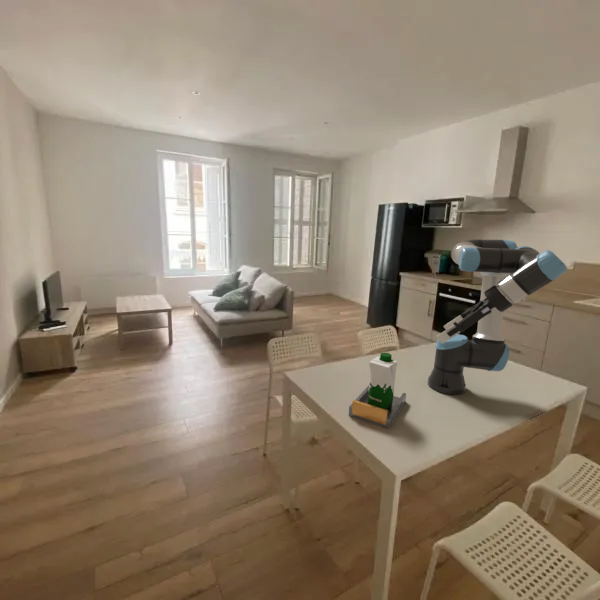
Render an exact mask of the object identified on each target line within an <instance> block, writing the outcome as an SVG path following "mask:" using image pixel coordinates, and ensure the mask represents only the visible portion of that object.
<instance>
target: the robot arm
mask: <svg viewBox="0 0 600 600" xmlns="http://www.w3.org/2000/svg"><path fill="white" fill-rule="evenodd" d="M450 257H451V260H452V261H453V262H454V263H455V264H456V265H458V269H459V270H460V271H463V272H470V273H473V272H474V273H479V274H480V275H481V277H482V278H481V290H480V299H479V302H477V303H476V304H475V305H473V306H471V307H469V308H468V309H466V310H464V311H463V312H462V313H461V314H460V315H458V316H456V317H455V318H454V319H452V320H450V321H449V322H447V323H446V324H444V325H442V326H443V328H444V329H445V330H444V331H442V332H441V333H439V334H437V335H436V338H437V340H436V345H435V355H434V362H433V363H434V364H433V369H432V370H431V372H430V374H429V376H428V379H427V385H428V387H429V388H431V389H432V390H434V391H437V392H439V393H440V394H441V393H442V394H445V395H453V396H455V395H462V394H464V393H465V392H466V389H467V388H466V387H467V386H466V382H465V381H466V380H465V377H464V368H469V369H476V370H483V371H488V372H501V371H503V370H504V369H505V367H506V366H507V364H508V361H509V356H510V347H509V345H508V344H507V343H505V339H504V337H503V336H502V327H503V318H504V317H503V316H504V312H505V311H506V310H508V309H509V308H511V307H513V305H514V304H517V303H519V302H521V301H524V302H525V301H526V300H527V298H526V297H528V296H530V295H532V294H533V293H535V292H537V291H538V290H541V289H543V287H545V286H547V285H548V284H550V283H551V282H554V281H556V280H557V279H558V278H559V277H560V276H562V275H564V274H565V273H566V272H567V270H568V267H567V265H566V264H565V263H564V262H563V261H562V260H561V259H560V257H558V256H557V255H556V253H554V252H553V251H551V250H549V249H548V250H544V251H543V252H541V253H539V251H538V250H536V249H535V248H533V247H531V246H526V245H524V246H522V245H521V246H518V245H517V243H516V242H515V241H514V240H506V239H474V238H473V239H467V240H462V241H460V242H458V243H456V244H455V245H454V246H453V247H452V249H451V251H450ZM476 323H477V329H476V332H475V334H473V335H472V338H471V340H470V339H469V338H468V336H466V335H464V334H460V333H465V331H467V330H468V329H469V328H470V327H472V326H474V325H475V324H476Z"/></svg>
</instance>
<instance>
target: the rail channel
mask: <svg viewBox="0 0 600 600" xmlns="http://www.w3.org/2000/svg"><path fill="white" fill-rule="evenodd" d="M368 391H369V385H367V387H366V388H365V389H364V390H363V391H362V392H361V393H360V394H359V395H358V396H357V398H355V399H353V400H352V403H350V405H349V406H348V416H349V417H353V418H355V419H358V420H362V421H363V422H364V421H365V422H367V423H370V424H373V425H376V426H380V427H382V428H385V429H388V430H390V428H391V427H392V425H393V423H394V422H395V420H396V418H397V417H398V415H399V413H400V412H401V410H402V408H403V407H404V405H405V403H406V400H407V393H406V392H403V393H401V395H400V397H399V396H397V395H393V402H392V406H391V407H389V408H388V409H387V410H385V409H382V408H379V407H376V406H372V405H369V404H367V402H368Z"/></svg>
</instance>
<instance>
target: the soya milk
mask: <svg viewBox="0 0 600 600" xmlns="http://www.w3.org/2000/svg"><path fill="white" fill-rule="evenodd" d="M368 364H369V376H368V377H369V378H368V386H369V391H368V402H367V404H369V405H372V406H376V407H379V408H382V409H385V410H387V409H388V408H389V407H391V406H392V402H393V396H395V395H394V393H395V392H394V391H395V382H396V372H397V364H398V361H397V360H395V359H392V354H391V353H389V352H381V353H380V356H379V355H378V356H377V357H374V358H373V359H371V360H370V361H369V362H368Z"/></svg>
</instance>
